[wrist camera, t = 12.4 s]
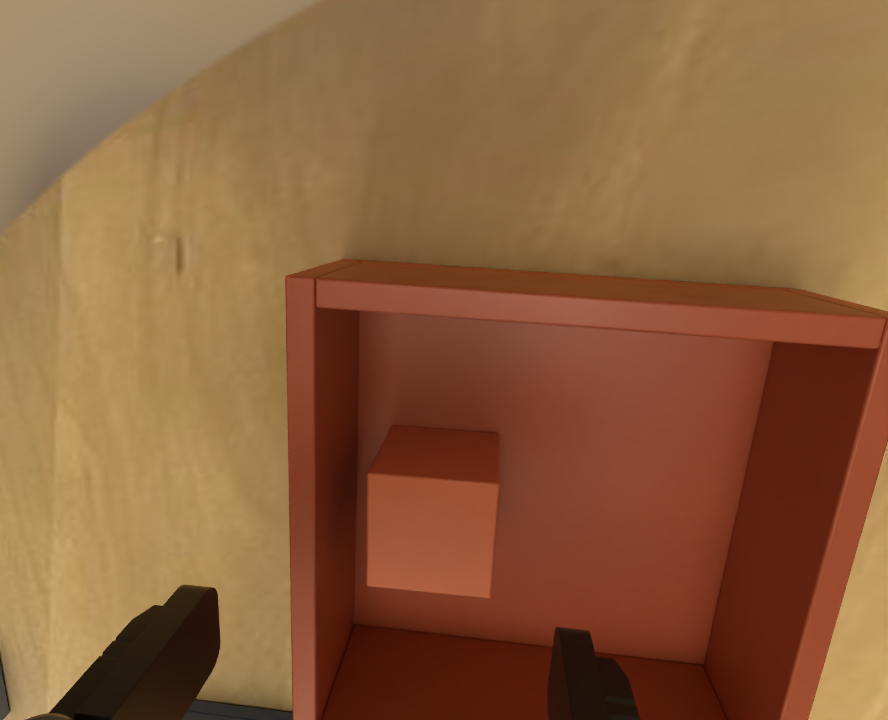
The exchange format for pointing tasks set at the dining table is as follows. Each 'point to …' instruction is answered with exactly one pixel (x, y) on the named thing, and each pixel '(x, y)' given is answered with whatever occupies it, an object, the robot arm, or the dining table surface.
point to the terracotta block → (433, 511)
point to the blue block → (3, 698)
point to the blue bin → (232, 712)
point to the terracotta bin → (583, 485)
